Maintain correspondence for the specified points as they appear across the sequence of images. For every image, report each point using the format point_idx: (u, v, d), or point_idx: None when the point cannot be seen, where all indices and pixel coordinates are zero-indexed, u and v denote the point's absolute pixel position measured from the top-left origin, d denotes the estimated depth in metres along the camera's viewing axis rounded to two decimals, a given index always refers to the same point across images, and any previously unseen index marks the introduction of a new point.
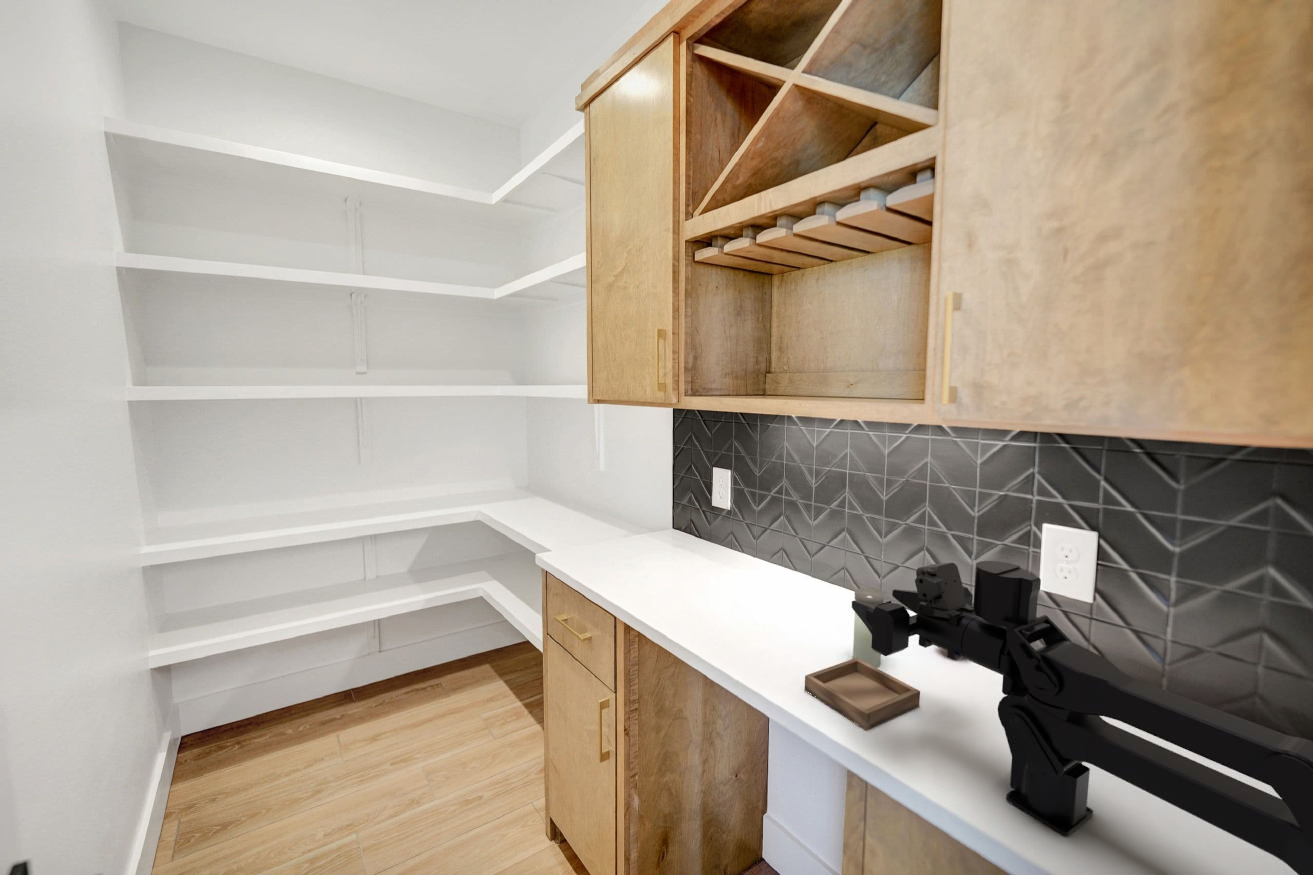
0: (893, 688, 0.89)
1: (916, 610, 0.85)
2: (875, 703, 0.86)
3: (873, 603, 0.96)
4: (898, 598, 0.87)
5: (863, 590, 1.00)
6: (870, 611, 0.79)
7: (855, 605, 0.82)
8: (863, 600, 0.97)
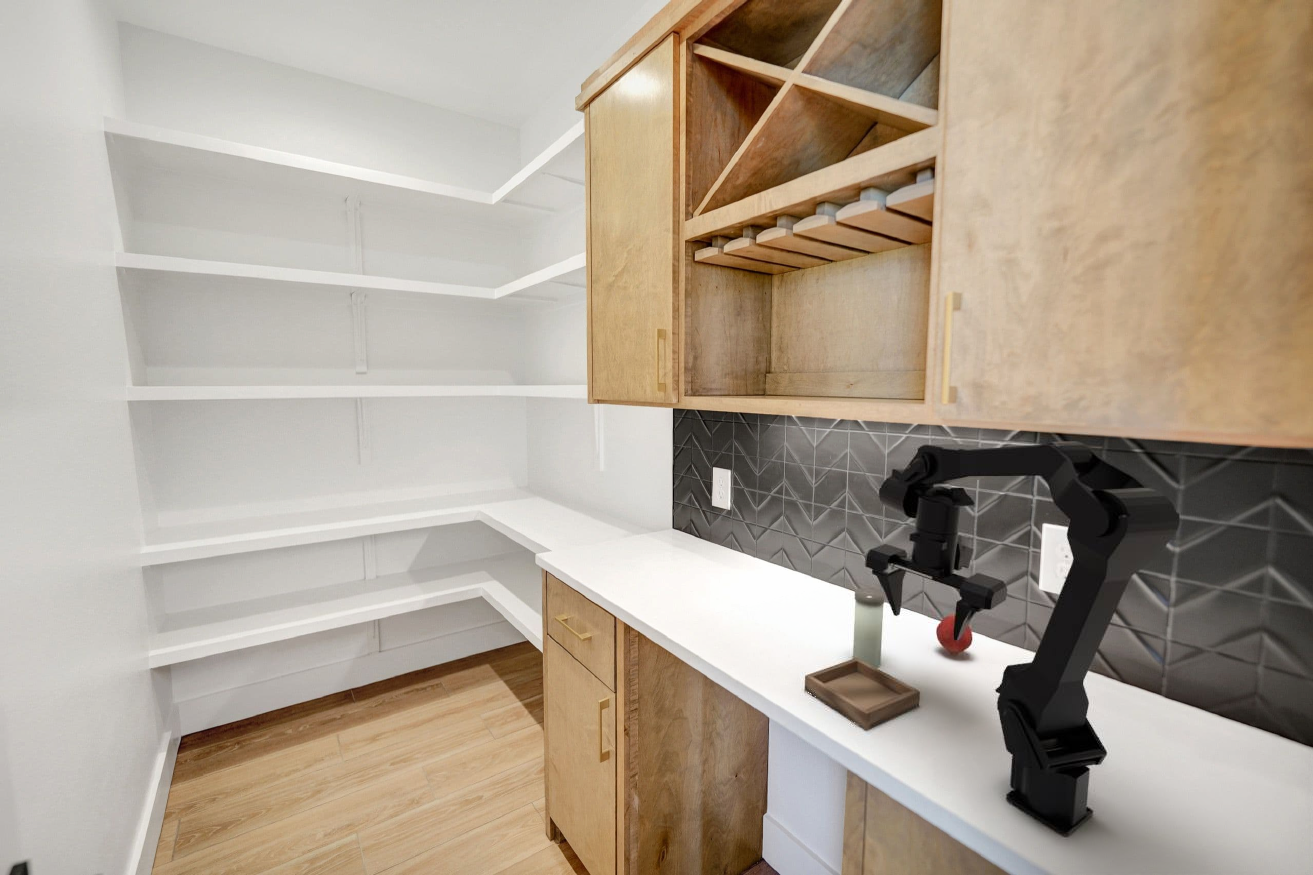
0: (893, 688, 0.89)
1: None
2: (875, 703, 0.86)
3: (873, 603, 0.96)
4: None
5: (863, 590, 1.00)
6: None
7: None
8: (863, 600, 0.97)
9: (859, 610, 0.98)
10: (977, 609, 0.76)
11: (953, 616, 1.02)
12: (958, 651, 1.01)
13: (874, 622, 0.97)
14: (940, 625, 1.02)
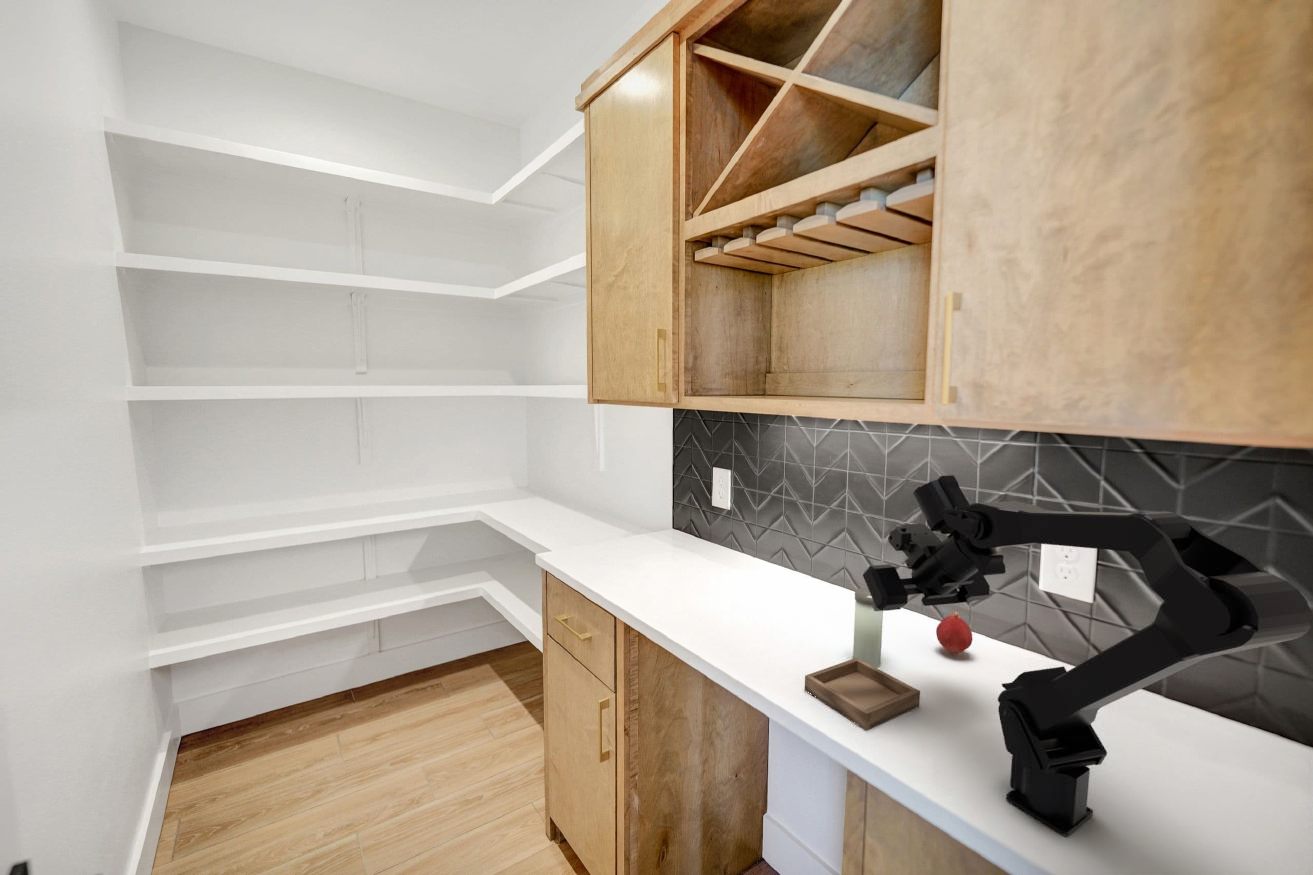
0: (893, 688, 0.89)
1: (942, 601, 0.88)
2: (875, 703, 0.86)
3: None
4: (927, 603, 0.91)
5: (863, 590, 1.00)
6: None
7: (873, 604, 0.89)
8: (863, 600, 0.97)
9: (859, 610, 0.98)
10: None
11: (953, 616, 1.02)
12: (958, 651, 1.01)
13: (874, 622, 0.97)
14: (940, 625, 1.02)
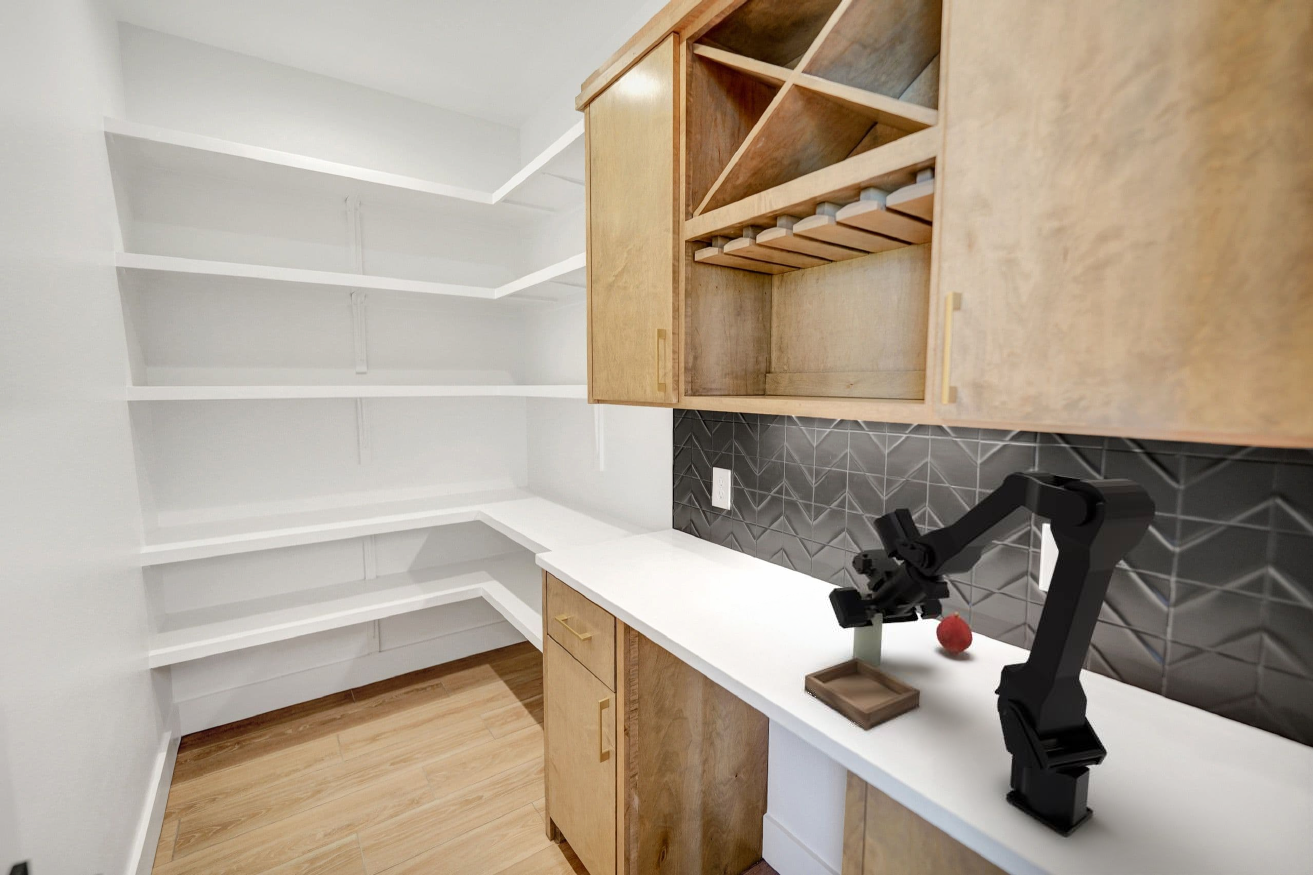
0: (893, 688, 0.89)
1: (890, 620, 0.97)
2: (875, 703, 0.86)
3: None
4: None
5: (863, 590, 1.00)
6: None
7: None
8: None
9: None
10: (917, 619, 0.95)
11: (953, 616, 1.02)
12: (958, 651, 1.01)
13: (874, 622, 0.97)
14: (940, 625, 1.02)
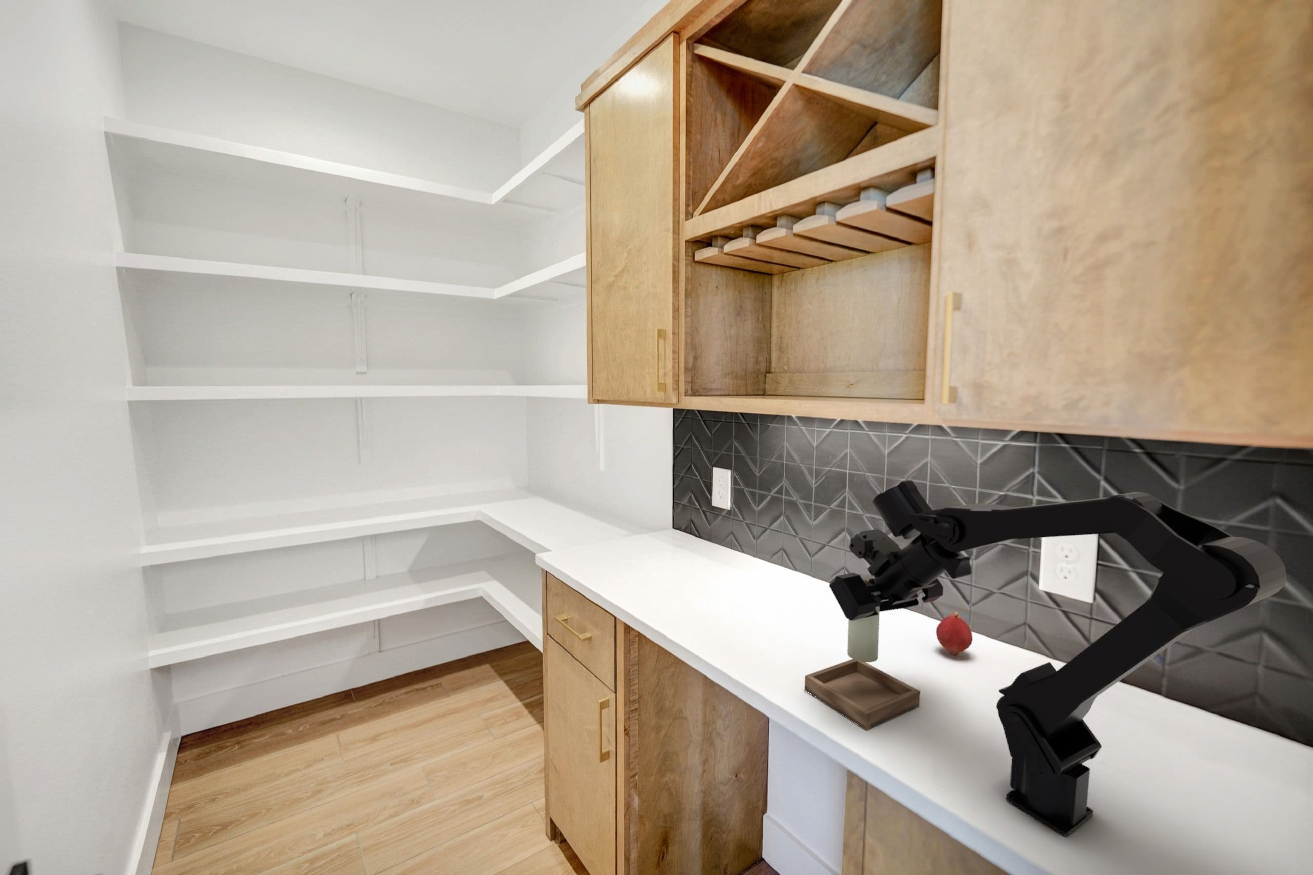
0: (893, 688, 0.89)
1: (888, 606, 0.88)
2: (875, 703, 0.86)
3: None
4: None
5: None
6: None
7: None
8: None
9: None
10: (918, 603, 0.87)
11: (953, 616, 1.02)
12: (958, 651, 1.01)
13: None
14: (940, 625, 1.02)
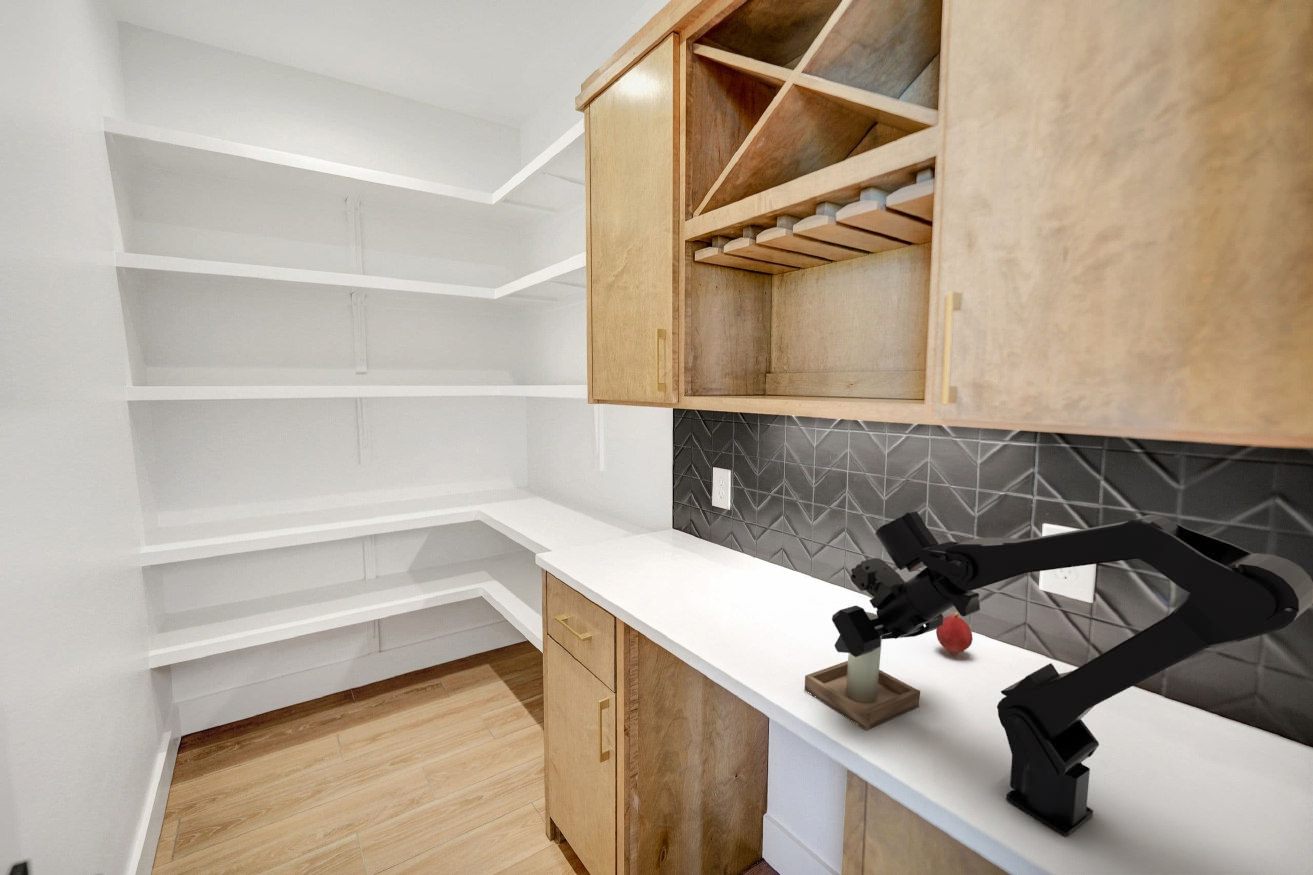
0: (893, 688, 0.89)
1: None
2: (875, 703, 0.86)
3: None
4: None
5: None
6: None
7: (837, 645, 0.86)
8: None
9: None
10: None
11: (953, 616, 1.02)
12: (958, 651, 1.01)
13: (875, 651, 0.85)
14: None
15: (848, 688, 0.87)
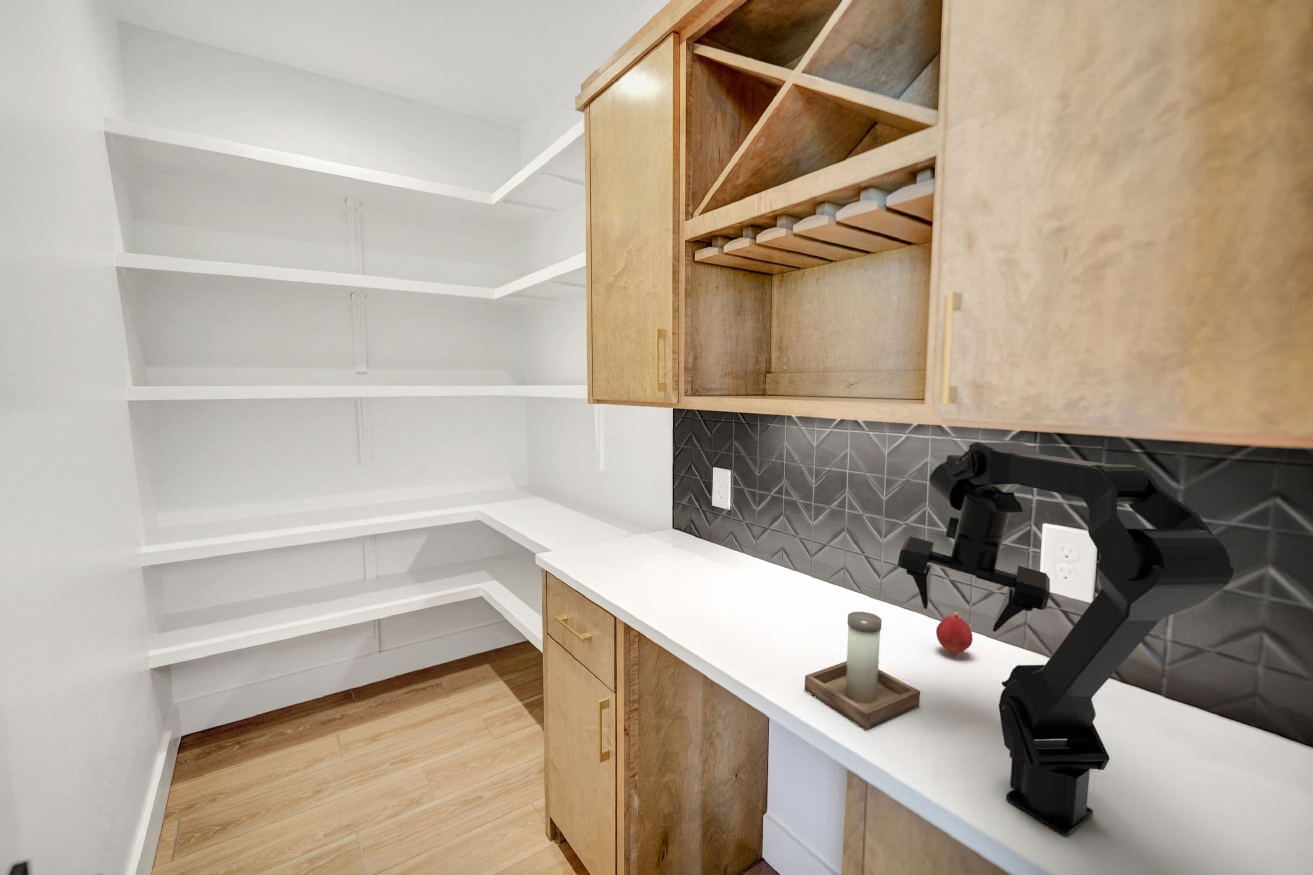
0: (893, 688, 0.89)
1: (1001, 612, 0.79)
2: (875, 703, 0.86)
3: (873, 630, 0.84)
4: (994, 624, 0.81)
5: (855, 614, 0.88)
6: None
7: None
8: (862, 627, 0.85)
9: (855, 638, 0.85)
10: (1031, 609, 0.76)
11: (953, 616, 1.02)
12: (958, 651, 1.01)
13: (873, 651, 0.85)
14: (940, 625, 1.02)
15: (848, 689, 0.87)
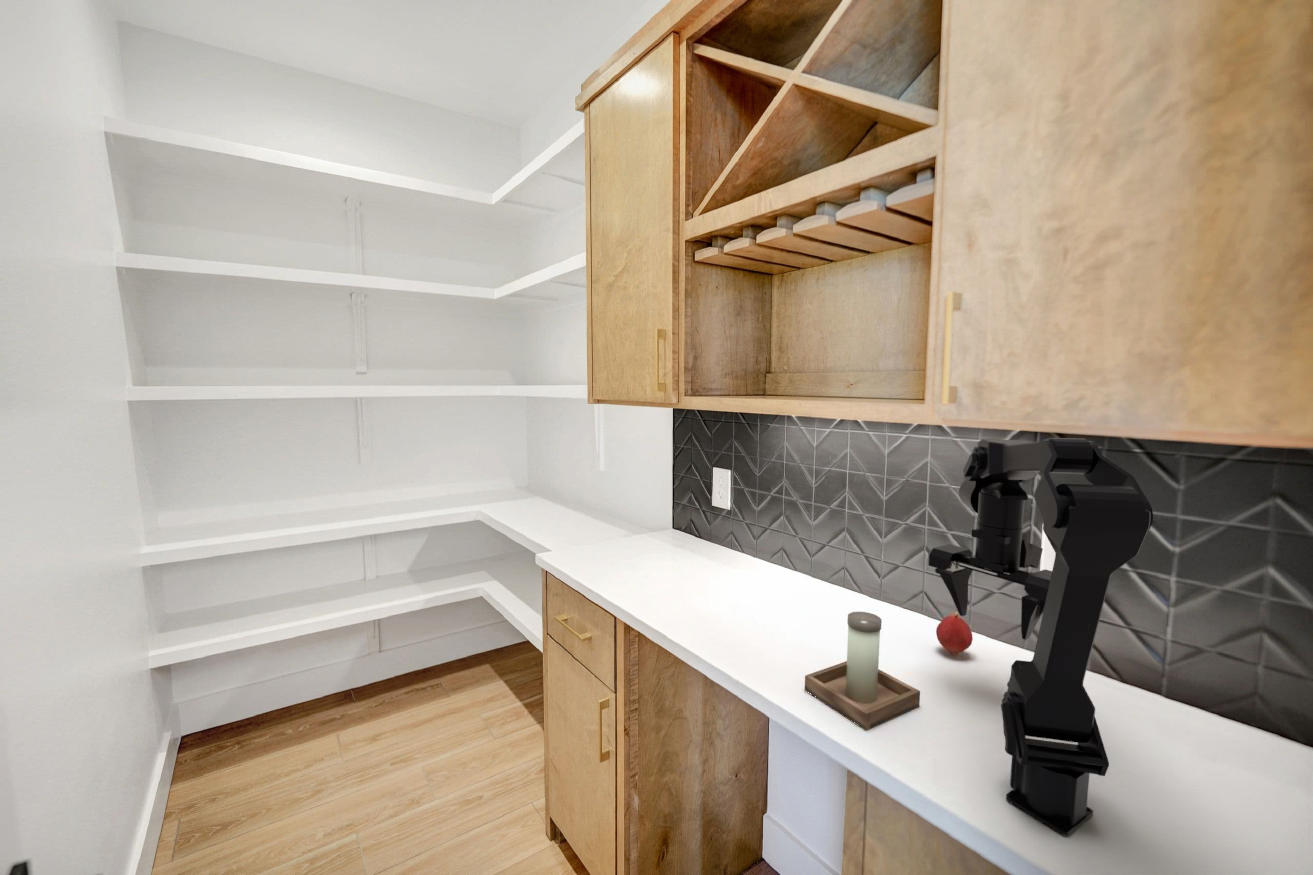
0: (893, 688, 0.89)
1: None
2: (875, 703, 0.86)
3: (873, 630, 0.84)
4: None
5: (855, 614, 0.88)
6: None
7: None
8: (861, 627, 0.85)
9: (855, 638, 0.86)
10: (1043, 603, 0.75)
11: (953, 616, 1.02)
12: (958, 651, 1.01)
13: (873, 651, 0.85)
14: (940, 625, 1.02)
15: (848, 689, 0.87)
